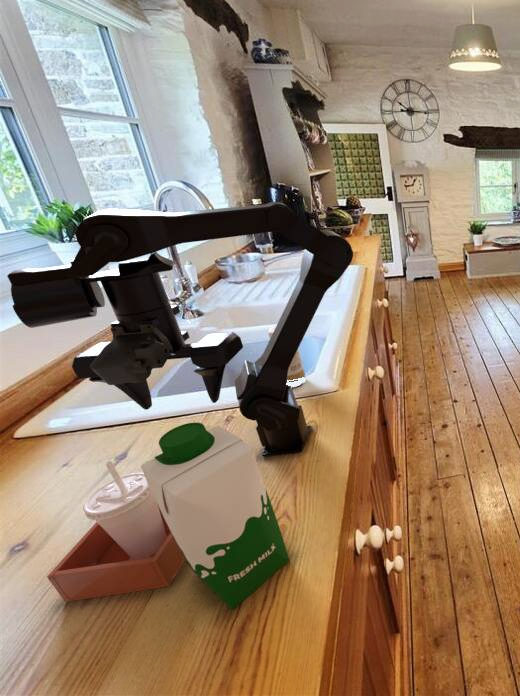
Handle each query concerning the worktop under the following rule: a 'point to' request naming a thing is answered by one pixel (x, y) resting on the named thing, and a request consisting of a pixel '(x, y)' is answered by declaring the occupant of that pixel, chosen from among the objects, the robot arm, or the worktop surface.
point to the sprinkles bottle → (292, 364)
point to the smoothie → (128, 513)
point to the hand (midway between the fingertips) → (182, 404)
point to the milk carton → (217, 509)
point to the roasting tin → (113, 567)
